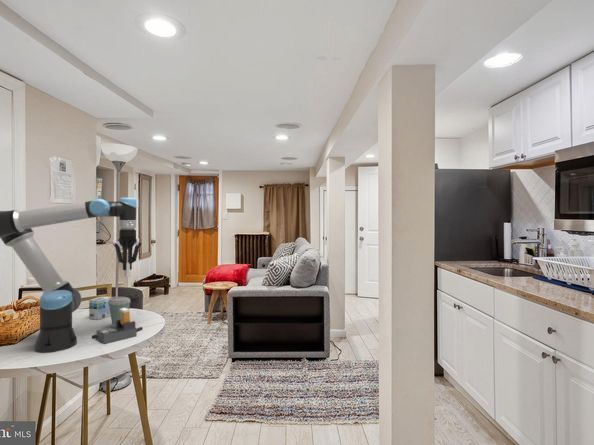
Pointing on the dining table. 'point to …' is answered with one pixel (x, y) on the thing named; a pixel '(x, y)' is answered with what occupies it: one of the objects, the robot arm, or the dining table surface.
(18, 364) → the dining table surface
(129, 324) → the labelled grey housing
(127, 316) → the lever
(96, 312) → the light bulb box
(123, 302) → the disposable coffee cup
